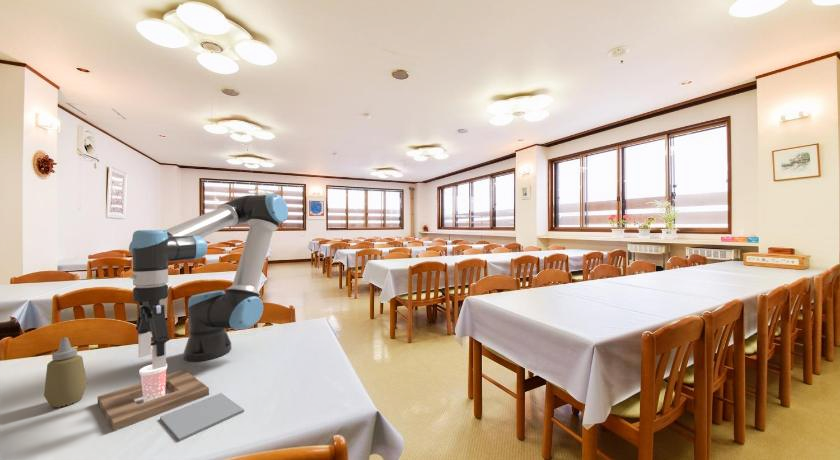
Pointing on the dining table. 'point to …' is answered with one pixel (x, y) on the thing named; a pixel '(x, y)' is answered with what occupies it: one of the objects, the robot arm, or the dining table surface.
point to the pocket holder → (128, 412)
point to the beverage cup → (153, 382)
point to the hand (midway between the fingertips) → (151, 361)
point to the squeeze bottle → (65, 376)
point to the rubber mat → (200, 416)
